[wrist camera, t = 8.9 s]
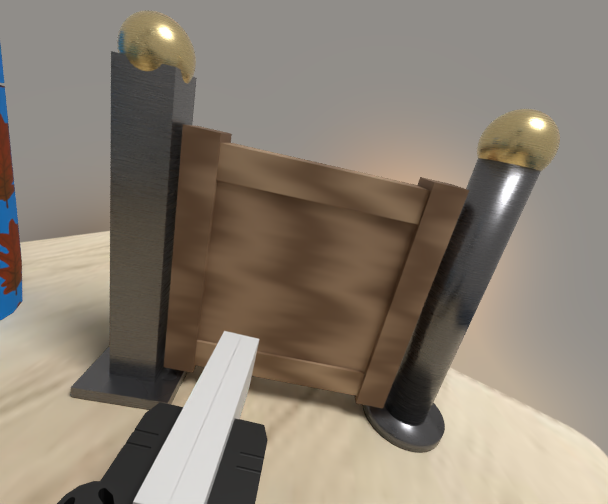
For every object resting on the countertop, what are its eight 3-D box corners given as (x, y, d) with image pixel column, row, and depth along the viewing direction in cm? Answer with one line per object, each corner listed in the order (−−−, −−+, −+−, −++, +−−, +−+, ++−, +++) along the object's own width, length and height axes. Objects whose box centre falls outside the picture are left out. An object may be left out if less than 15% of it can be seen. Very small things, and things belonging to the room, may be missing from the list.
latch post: (196, 352, 26) (233, 45, 18) (167, 412, 20) (203, 5, 13) (122, 339, 25) (130, 19, 18) (71, 397, 20) (50, -34, 12)
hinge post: (357, 427, 22) (482, 88, 15) (369, 376, 28) (465, 108, 20) (443, 467, 21) (631, 112, 13) (438, 405, 26) (570, 127, 19)
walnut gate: (376, 383, 25) (451, 184, 19) (382, 408, 23) (469, 190, 17) (177, 345, 24) (198, 126, 19) (163, 367, 22) (182, 124, 16)
